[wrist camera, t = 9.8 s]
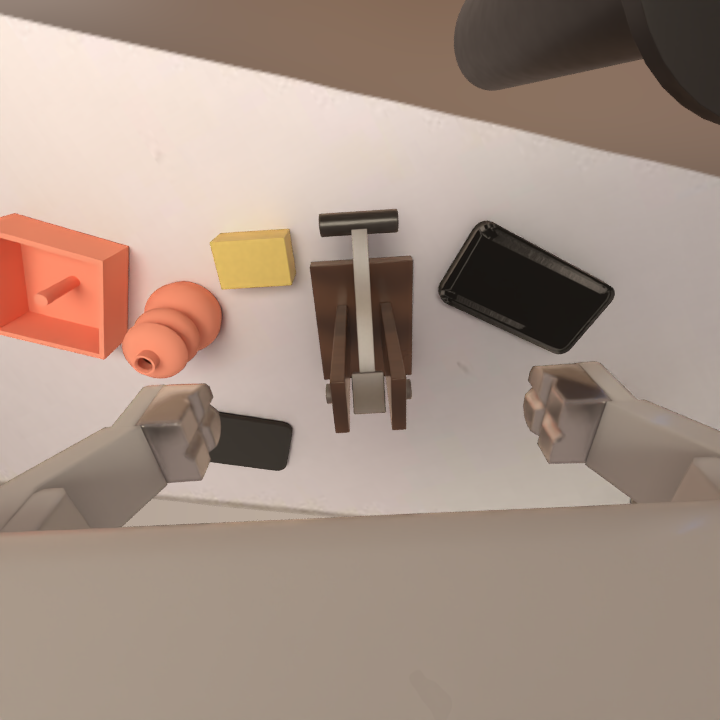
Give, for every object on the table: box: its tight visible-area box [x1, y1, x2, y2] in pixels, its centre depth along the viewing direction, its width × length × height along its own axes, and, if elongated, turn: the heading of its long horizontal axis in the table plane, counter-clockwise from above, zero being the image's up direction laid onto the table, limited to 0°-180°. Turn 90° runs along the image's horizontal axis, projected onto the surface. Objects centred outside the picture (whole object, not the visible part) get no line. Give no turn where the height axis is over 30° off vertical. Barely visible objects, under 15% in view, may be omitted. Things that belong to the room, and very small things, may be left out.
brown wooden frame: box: [310, 256, 413, 433], centre depth 32 cm, size 12×9×14 cm
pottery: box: [0, 213, 222, 378], centre depth 32 cm, size 18×10×10 cm, turn 72°
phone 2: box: [438, 221, 615, 354], centre depth 36 cm, size 8×1×15 cm
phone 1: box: [209, 413, 292, 471], centre depth 45 cm, size 7×1×15 cm
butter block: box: [210, 229, 296, 289], centre depth 33 cm, size 4×6×3 cm, turn 94°
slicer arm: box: [319, 209, 398, 414], centre depth 28 cm, size 14×6×2 cm
